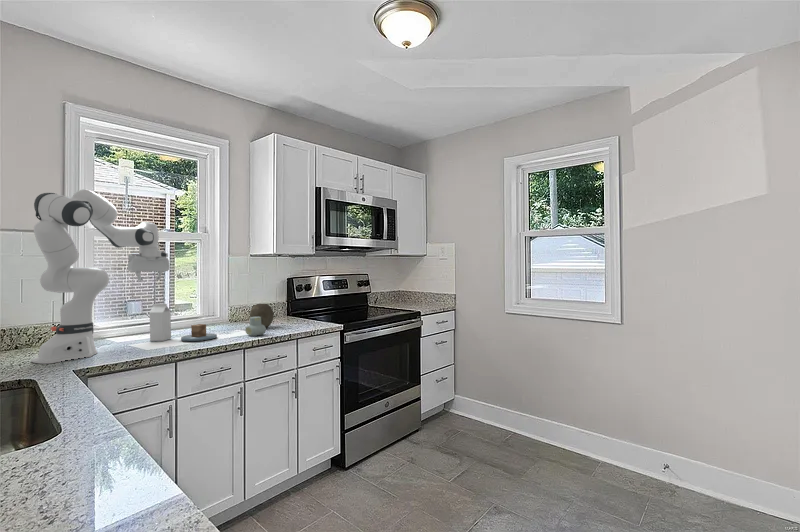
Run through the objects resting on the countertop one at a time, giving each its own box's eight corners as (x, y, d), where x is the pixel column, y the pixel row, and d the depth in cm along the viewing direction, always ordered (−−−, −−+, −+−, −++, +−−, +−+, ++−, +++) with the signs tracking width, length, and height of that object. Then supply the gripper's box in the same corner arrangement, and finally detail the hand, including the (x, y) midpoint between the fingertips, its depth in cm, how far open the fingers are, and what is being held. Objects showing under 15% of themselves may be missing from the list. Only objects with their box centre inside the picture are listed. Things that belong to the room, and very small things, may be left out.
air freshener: (268, 335, 232) (267, 317, 232) (254, 337, 226) (253, 318, 225) (257, 333, 239) (257, 315, 239) (243, 335, 233) (243, 317, 233)
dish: (196, 343, 212) (196, 340, 212) (173, 341, 219) (173, 337, 219) (223, 337, 227) (223, 334, 227) (201, 335, 235) (201, 332, 235)
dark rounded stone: (279, 327, 260) (278, 302, 260) (262, 330, 247) (262, 305, 247) (261, 325, 266) (260, 302, 266) (244, 329, 253) (243, 304, 253)
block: (198, 337, 220) (197, 325, 220) (191, 336, 222) (191, 325, 222) (206, 335, 224) (206, 324, 224) (199, 335, 226) (199, 323, 226)
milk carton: (163, 341, 219) (162, 304, 219) (150, 341, 220) (149, 304, 219) (171, 338, 227) (170, 303, 226) (158, 338, 227) (157, 303, 226)
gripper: (132, 252, 210) (132, 280, 210) (171, 254, 228) (171, 279, 228) (124, 253, 213) (125, 280, 213) (163, 254, 231) (163, 279, 231)
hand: (149, 280), depth 221 cm, fingers open, 8 cm apart
